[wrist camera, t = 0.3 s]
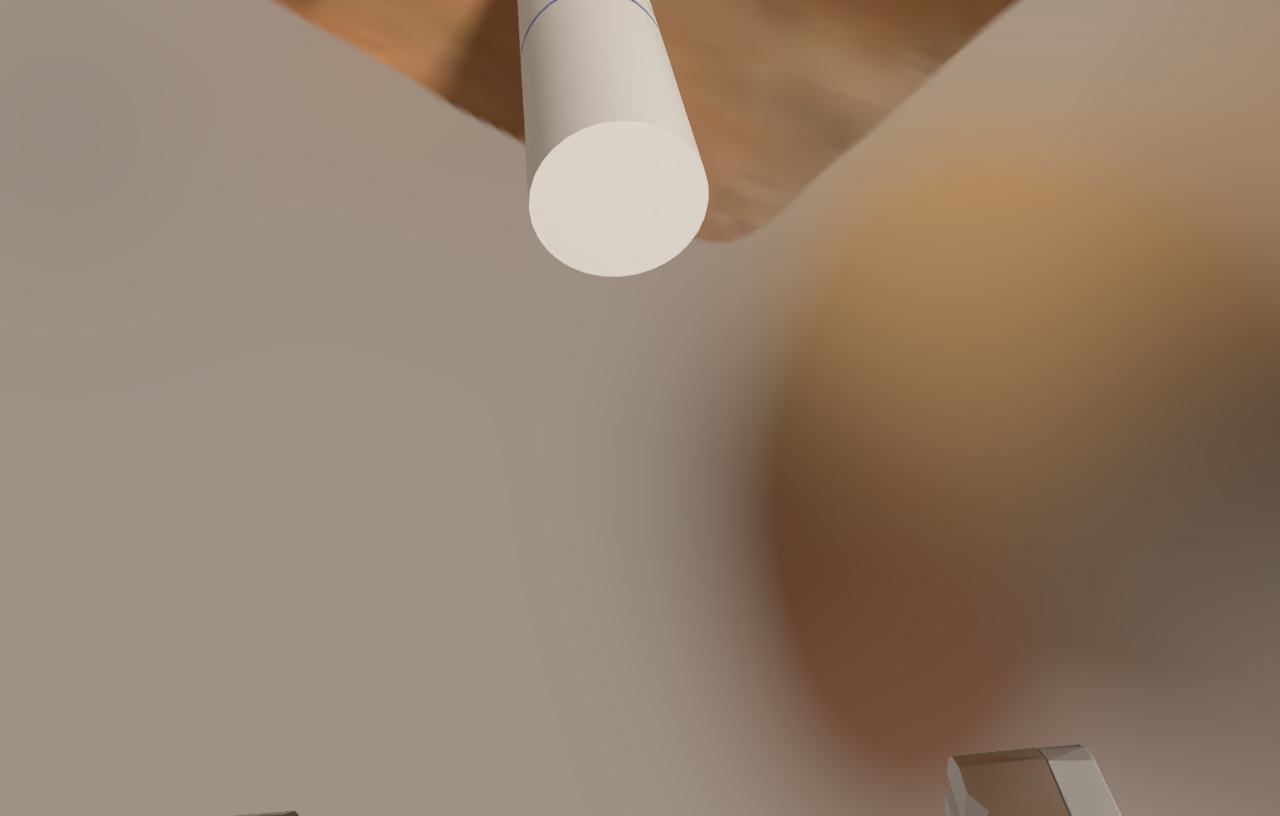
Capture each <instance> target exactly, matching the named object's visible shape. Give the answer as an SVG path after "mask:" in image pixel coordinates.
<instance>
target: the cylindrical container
mask: <svg viewBox="0 0 1280 816" xmlns="http://www.w3.org/2000/svg"><path fill="white" fill-rule="evenodd" d="M517 2H518V21H519V40H520V60H521V77H522V92H523V108H524V124H525V143H526V160H527V162H526V163H527V180H528V181H527V182H528V200H529V212H530V217H531V222H532V225H533V227H534V229H535V232H536V234H537V236H538V238H539V239H540V241H541V242H542V244H543V245H544V246H545V247H546V249H547V250H548V251H549V252H550V253H551V254H552V255H554V256H555V257H556V258H557V259H558V260H560V261H561V262H564V263H565V264H566V265H568V266H570V267H572V268H574V269H577V270H579V271H582V272H585V273H589V274H593V275H598V276H614V277H616V276H617V277H620V276H627V275H635V274H639V273H642V272H645V271H648V270H652V269H654V268H656V267H658V266H660V265H662V264H664V263H666V262H668V261H669V260H670V259H672V258H673V257H674V256H676V255H678V254H679V253H680V252H681V251H682V250H683V249H684V248H685V247H686V246H687V245H688V244H689V243H690V242H691V240H692V239H693V238H694V236H695V235H696V233H697V232H698V231H699V228H700V226H701V224H702V222H703V220H704V217H705V214H706V210H707V205H708V182H707V178H706V175H705V171H704V167H703V164H702V161H701V158H700V155H699V152H698V149H697V146H696V142H695V139H694V136H693V133H692V130H691V127H690V124H689V121H688V118H687V114H686V111H685V108H684V105H683V102H682V99H681V96H680V93H679V90H678V86H677V83H676V80H675V77H674V74H673V71H672V68H671V65H670V62H669V58H668V55H667V52H666V49H665V46H664V43H663V40H662V37H661V34H660V31H659V28H658V25H657V22H656V19H655V15H654V12H653V9H652V6H651V3H650V0H517Z"/></svg>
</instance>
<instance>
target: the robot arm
mask: <svg viewBox="0 0 1280 816" xmlns="http://www.w3.org/2000/svg"><path fill="white" fill-rule="evenodd" d="M947 774H948V777H949V780H950V784H951V787H952V789H950V790H949V791H948V792H947V793H946V794H945V816H1121V814H1120V812H1119V810H1118V808H1117V805H1116V803H1115V801H1114V800H1113V797H1112V795H1111V793H1110V791H1109V789H1108V787H1107V785H1106V783H1105V781H1104V778H1103V776H1102V774H1101V772H1100V770H1099V768H1098V766H1097V764H1096V762H1095V760H1094V758H1093V756H1092V754H1091V753H1090V752H1089V751H1088V750H1087V749H1086V748H1085V747H1084V746H1081V745H1079V744H1077V745H1066V746H1054V747H1042V748H1025V749H1015V750H1005V751H996V752H986V753H976V754H967V755H957V756H951V757H950V758H949V760H948V768H947ZM238 816H299V815H298V814H297V813H296V811H286V812H274V813H262V814H250V815H238Z"/></svg>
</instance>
